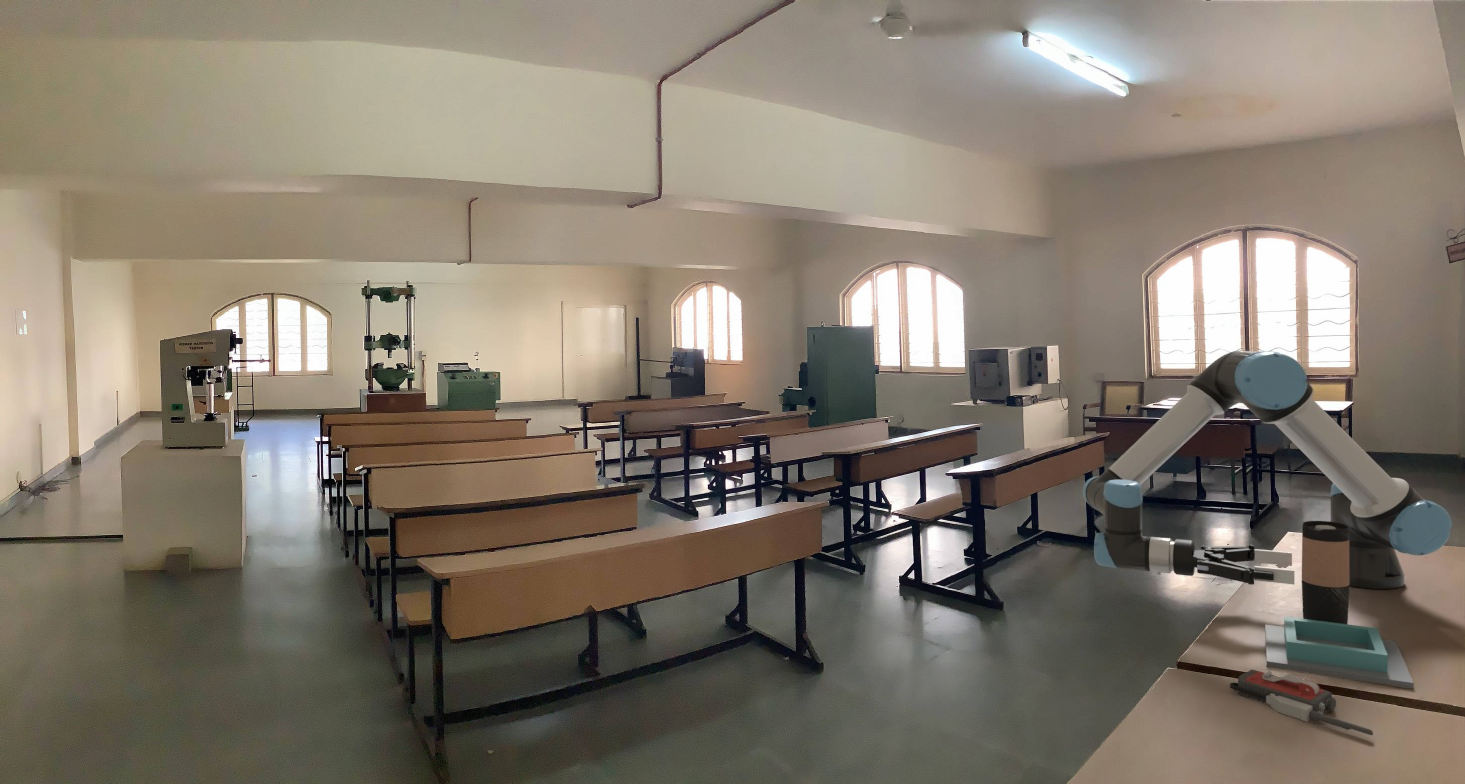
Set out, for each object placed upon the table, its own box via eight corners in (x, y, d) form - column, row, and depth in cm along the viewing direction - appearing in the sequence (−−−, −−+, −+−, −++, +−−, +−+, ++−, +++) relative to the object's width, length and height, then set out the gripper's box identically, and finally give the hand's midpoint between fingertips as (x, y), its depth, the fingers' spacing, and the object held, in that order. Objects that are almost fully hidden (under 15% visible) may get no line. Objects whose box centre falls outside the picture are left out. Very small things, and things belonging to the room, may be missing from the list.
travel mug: (1340, 618, 164) (1341, 521, 162) (1355, 632, 156) (1356, 530, 155) (1296, 616, 166) (1296, 519, 165) (1309, 629, 159) (1309, 528, 157)
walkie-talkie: (1222, 697, 133) (1369, 745, 117) (1222, 670, 133) (1370, 715, 116) (1247, 682, 138) (1392, 726, 121) (1247, 657, 138) (1393, 697, 121)
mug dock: (1265, 629, 160) (1265, 609, 160) (1395, 646, 149) (1395, 625, 149) (1266, 666, 143) (1266, 644, 143) (1413, 688, 132) (1413, 664, 132)
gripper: (1178, 558, 185) (1290, 569, 174) (1168, 590, 164) (1295, 604, 153) (1177, 526, 185) (1290, 534, 173) (1167, 553, 164) (1295, 565, 152)
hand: (1293, 567), depth 163 cm, fingers open, 13 cm apart
